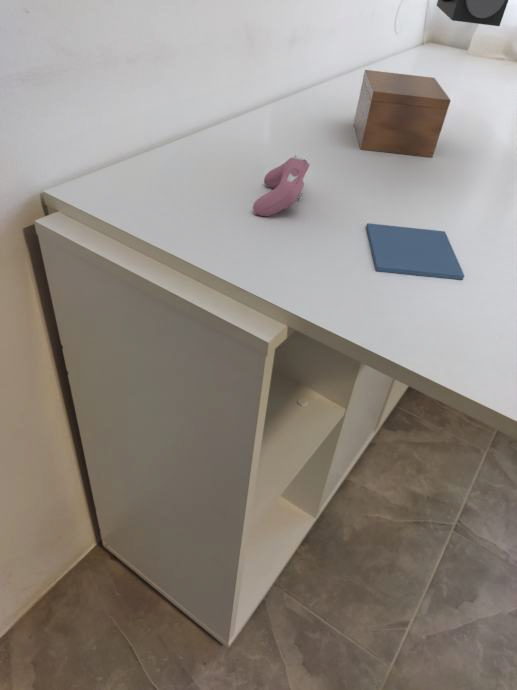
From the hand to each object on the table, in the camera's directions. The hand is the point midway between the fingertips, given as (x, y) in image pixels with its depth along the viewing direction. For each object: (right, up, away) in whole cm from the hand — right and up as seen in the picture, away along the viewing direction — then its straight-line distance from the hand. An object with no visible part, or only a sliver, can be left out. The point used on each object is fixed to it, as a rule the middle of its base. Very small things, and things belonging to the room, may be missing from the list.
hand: (470, 0), depth 55 cm
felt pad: (-3, -24, +9) cm, 26 cm away
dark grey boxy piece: (0, -1, +1) cm, 1 cm away
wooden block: (+1, 0, +37) cm, 37 cm away
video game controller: (-19, -17, +16) cm, 30 cm away
